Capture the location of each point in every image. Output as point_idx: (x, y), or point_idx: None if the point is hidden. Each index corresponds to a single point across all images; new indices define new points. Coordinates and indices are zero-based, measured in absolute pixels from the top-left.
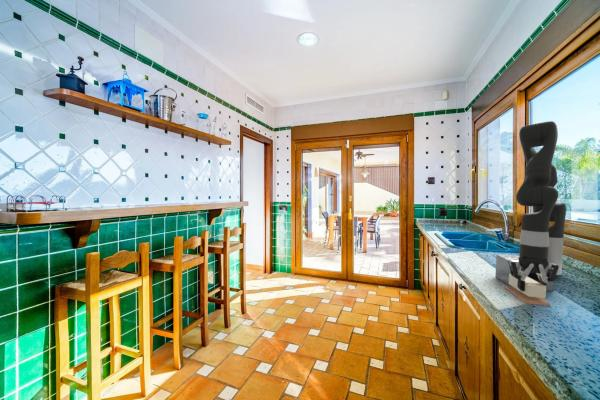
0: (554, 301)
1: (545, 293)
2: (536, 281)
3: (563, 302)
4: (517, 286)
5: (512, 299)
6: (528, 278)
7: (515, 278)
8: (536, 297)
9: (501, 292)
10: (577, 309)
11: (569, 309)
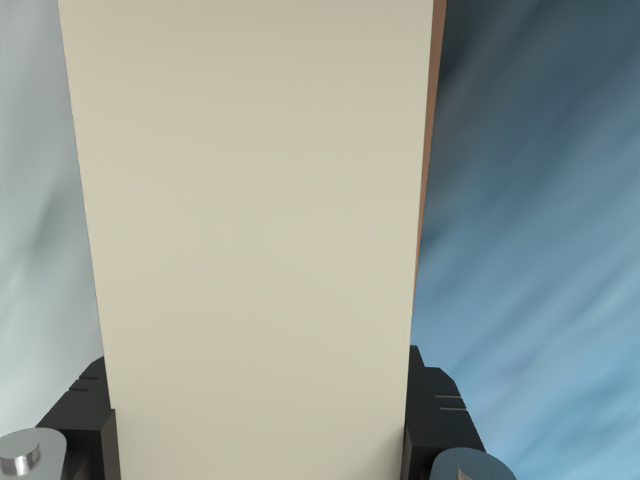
0: (534, 301)
1: None
2: (398, 387)
3: (619, 307)
4: (92, 364)
5: (85, 353)
6: (355, 210)
7: (96, 198)
8: None
9: (37, 150)
10: (604, 454)
11: (522, 470)
